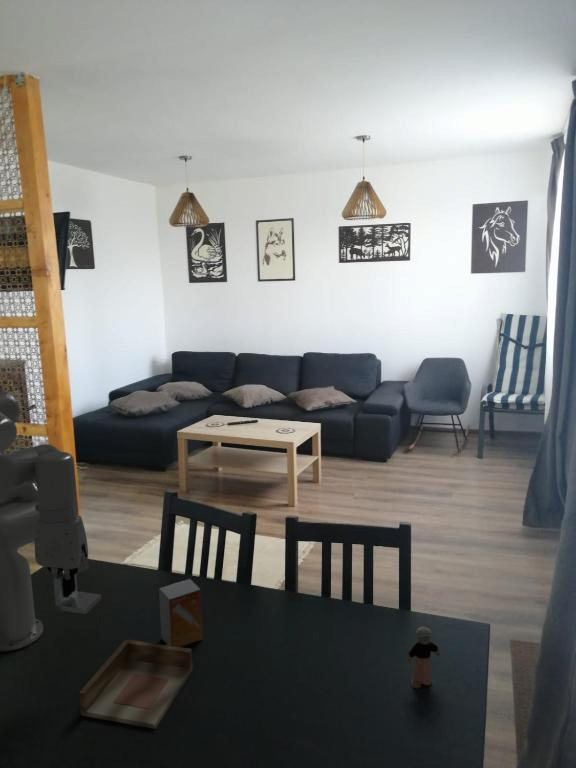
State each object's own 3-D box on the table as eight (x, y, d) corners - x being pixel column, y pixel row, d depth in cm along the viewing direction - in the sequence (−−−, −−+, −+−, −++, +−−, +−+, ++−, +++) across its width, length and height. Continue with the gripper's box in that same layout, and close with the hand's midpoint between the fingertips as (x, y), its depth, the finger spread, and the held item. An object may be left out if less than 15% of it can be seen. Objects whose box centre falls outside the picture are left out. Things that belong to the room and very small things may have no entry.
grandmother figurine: (414, 693, 124) (415, 637, 121) (402, 682, 127) (403, 627, 125) (443, 681, 127) (445, 626, 125) (431, 671, 131) (432, 617, 128)
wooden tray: (81, 715, 119) (79, 692, 119) (126, 659, 137) (125, 639, 136) (155, 729, 115) (153, 705, 115) (192, 669, 133) (191, 648, 132)
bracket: (56, 609, 126) (53, 578, 125) (72, 595, 132) (70, 565, 131) (85, 613, 125) (83, 582, 123) (101, 599, 130) (99, 568, 129)
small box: (171, 651, 139) (168, 599, 137) (161, 638, 144) (157, 587, 142) (203, 639, 143) (201, 588, 141) (192, 626, 149) (189, 577, 146)
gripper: (15, 515, 124) (23, 598, 127) (81, 522, 120) (88, 607, 123) (38, 502, 131) (46, 580, 134) (101, 508, 127) (108, 588, 130)
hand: (66, 593), depth 129 cm, fingers closed on bracket, 1 cm apart
